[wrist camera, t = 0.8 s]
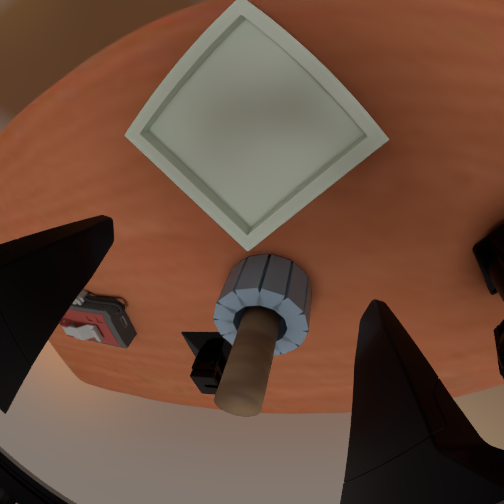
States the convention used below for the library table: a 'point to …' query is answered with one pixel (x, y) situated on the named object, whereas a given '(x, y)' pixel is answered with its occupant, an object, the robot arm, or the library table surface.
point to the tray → (252, 125)
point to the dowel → (249, 363)
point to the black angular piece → (208, 359)
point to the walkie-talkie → (98, 321)
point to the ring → (266, 298)
